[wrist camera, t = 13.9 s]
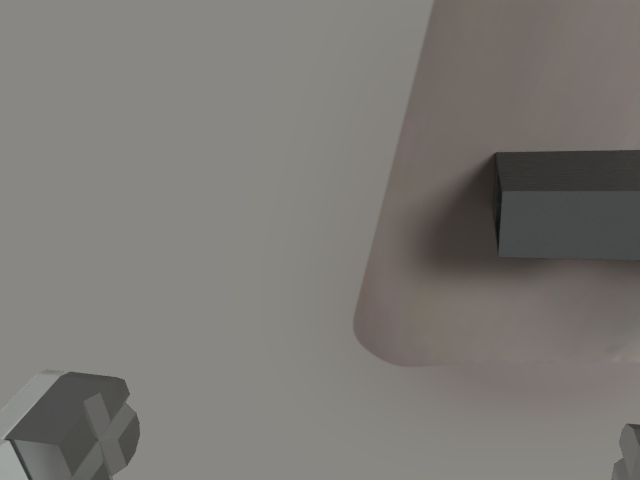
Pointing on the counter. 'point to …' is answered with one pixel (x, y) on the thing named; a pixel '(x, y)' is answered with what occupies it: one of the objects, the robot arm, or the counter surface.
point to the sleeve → (568, 204)
